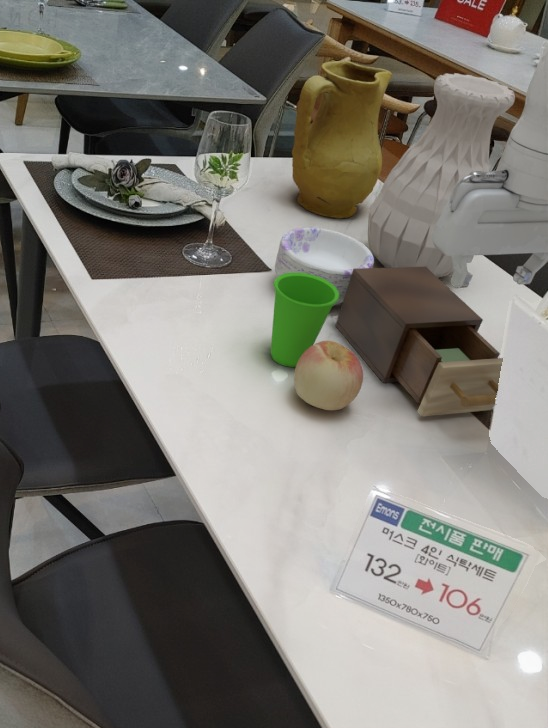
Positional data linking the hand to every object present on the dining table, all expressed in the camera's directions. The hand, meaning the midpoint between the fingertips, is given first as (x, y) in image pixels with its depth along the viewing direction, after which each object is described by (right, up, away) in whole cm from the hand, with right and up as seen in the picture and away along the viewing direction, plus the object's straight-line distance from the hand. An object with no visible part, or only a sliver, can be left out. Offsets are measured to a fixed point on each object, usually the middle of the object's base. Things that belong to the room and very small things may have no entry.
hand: (489, 284), depth 96 cm
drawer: (-2, -12, +12) cm, 17 cm away
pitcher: (-9, +34, +59) cm, 69 cm away
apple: (-20, -14, +8) cm, 26 cm away
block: (-2, -11, +11) cm, 16 cm away
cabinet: (-6, -4, +20) cm, 21 cm away
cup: (-23, -6, +15) cm, 28 cm away
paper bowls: (-16, +8, +31) cm, 36 cm away
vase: (+4, +16, +43) cm, 46 cm away
